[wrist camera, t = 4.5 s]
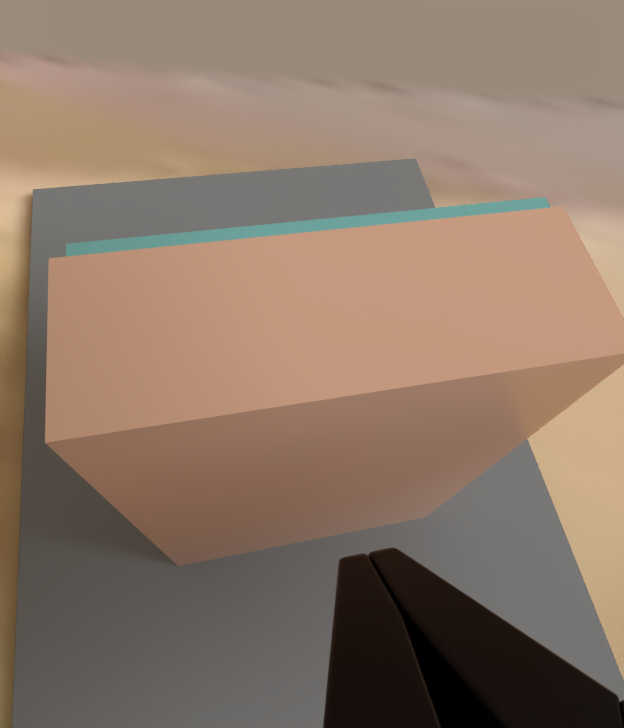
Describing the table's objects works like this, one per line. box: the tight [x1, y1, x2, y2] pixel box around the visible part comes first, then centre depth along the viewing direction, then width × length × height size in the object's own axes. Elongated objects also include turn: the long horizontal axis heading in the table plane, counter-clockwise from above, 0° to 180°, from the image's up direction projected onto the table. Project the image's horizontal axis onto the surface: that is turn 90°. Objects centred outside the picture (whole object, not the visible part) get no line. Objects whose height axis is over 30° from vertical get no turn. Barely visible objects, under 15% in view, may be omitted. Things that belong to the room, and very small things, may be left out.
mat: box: [12, 159, 624, 728], centre depth 17 cm, size 20×15×1 cm
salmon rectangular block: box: [45, 197, 624, 566], centre depth 11 cm, size 3×7×10 cm, turn 101°
